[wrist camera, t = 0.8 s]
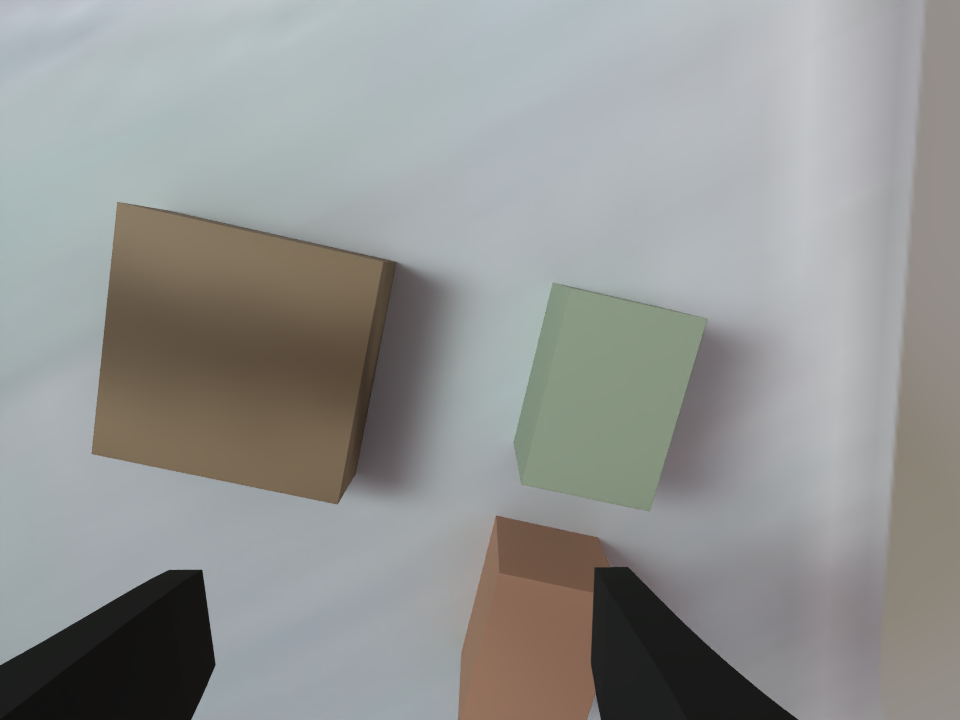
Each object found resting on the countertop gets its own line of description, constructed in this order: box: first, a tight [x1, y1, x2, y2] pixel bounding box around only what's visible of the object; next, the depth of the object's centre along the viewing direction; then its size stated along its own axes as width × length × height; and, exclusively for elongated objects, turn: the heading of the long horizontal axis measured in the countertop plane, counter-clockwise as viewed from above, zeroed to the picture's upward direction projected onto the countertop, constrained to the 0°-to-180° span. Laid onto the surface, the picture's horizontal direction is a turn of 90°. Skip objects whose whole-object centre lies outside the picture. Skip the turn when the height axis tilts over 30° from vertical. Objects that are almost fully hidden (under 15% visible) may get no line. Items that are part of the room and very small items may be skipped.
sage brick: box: [514, 283, 707, 511], centre depth 18 cm, size 6×4×4 cm, turn 167°
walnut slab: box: [92, 202, 396, 504], centre depth 18 cm, size 8×8×3 cm
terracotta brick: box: [458, 516, 610, 720], centre depth 19 cm, size 6×4×4 cm, turn 167°
